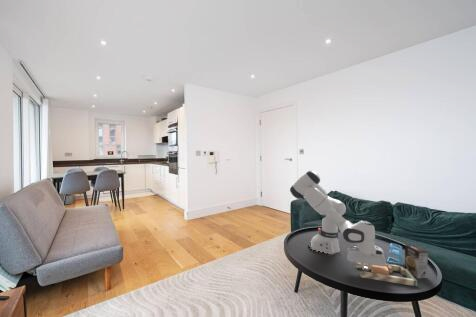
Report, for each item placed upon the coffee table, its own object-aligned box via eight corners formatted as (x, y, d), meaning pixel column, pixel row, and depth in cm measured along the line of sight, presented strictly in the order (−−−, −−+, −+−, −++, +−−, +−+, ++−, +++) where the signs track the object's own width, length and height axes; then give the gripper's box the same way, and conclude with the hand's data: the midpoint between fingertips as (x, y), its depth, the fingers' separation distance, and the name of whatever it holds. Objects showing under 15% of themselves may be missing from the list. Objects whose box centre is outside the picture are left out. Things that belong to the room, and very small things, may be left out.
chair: (402, 266, 134) (403, 248, 134) (386, 262, 140) (387, 244, 139) (403, 262, 140) (404, 244, 139) (388, 257, 145) (389, 240, 145)
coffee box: (403, 269, 131) (404, 244, 130) (413, 269, 131) (414, 244, 131) (417, 278, 122) (418, 251, 121) (427, 278, 122) (428, 251, 122)
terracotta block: (372, 275, 125) (372, 267, 125) (371, 271, 129) (371, 263, 129) (388, 279, 121) (388, 270, 121) (386, 274, 126) (387, 266, 126)
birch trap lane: (361, 277, 123) (361, 272, 123) (355, 263, 138) (355, 259, 138) (417, 286, 115) (417, 281, 115) (404, 270, 129) (404, 266, 129)
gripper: (347, 247, 127) (347, 269, 128) (387, 252, 121) (386, 276, 121) (345, 243, 133) (345, 264, 134) (383, 248, 127) (382, 270, 127)
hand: (365, 270), depth 127 cm, fingers closed
